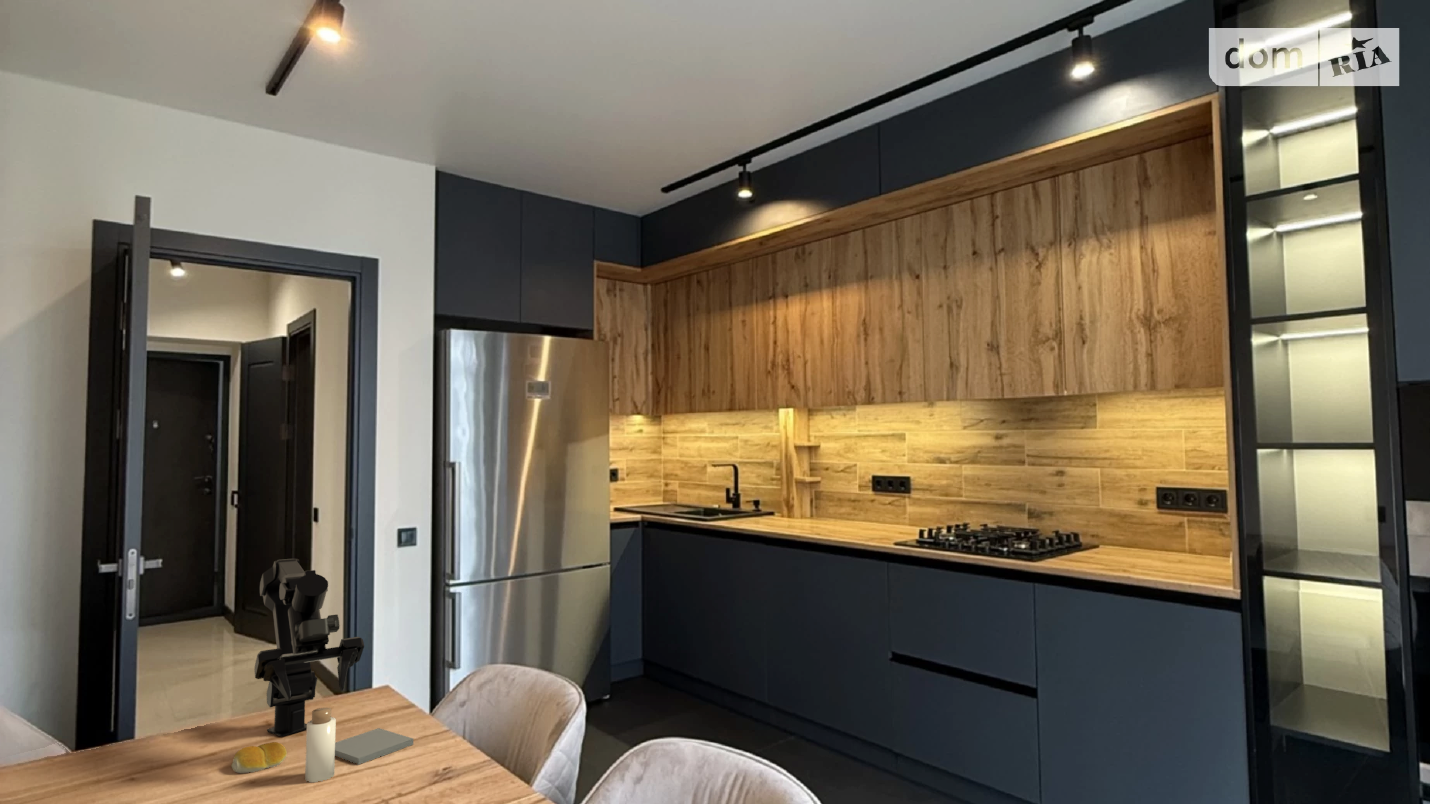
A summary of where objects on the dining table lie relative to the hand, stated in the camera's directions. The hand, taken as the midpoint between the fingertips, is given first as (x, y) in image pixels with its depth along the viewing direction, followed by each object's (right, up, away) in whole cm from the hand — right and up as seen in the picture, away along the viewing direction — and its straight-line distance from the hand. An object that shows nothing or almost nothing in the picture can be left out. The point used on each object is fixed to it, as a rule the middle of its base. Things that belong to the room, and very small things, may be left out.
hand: (316, 694), depth 143 cm
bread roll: (-12, -14, +1) cm, 18 cm away
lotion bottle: (+3, -13, -5) cm, 15 cm away
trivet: (+6, -14, +8) cm, 18 cm away
